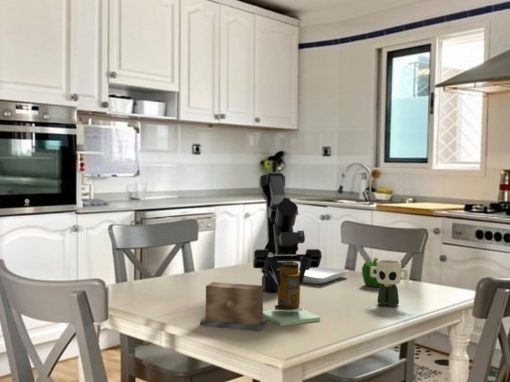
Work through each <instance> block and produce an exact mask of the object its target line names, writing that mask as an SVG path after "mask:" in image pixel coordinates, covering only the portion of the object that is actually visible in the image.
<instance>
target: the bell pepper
mask: <svg viewBox="0 0 510 382" xmlns="http://www.w3.org/2000/svg"><path fill="white" fill-rule="evenodd" d="M378 260H379V258H378V257H374V258H373V261H372V262H370V261H366V262H365V261H364V263H363V265H362V267H361V273H362V278H363V282H364V284H365V285H366V286H367V287H373V288H379V287H380V285H381V283H379V282H378V281H377V278H375V277H371V276H370V268H371V267H372V266H375V267H377V261H378ZM373 274H377V270H374V273H373Z"/></svg>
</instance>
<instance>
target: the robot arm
mask: <svg viewBox="0 0 510 382" xmlns="http://www.w3.org/2000/svg"><path fill="white" fill-rule="evenodd" d="M258 186H259V189H260V195H261V196H262V197H263V199H264V201H265V205H266V207H265V209H266V232H267V233H266V235H267V236H266V238H267V239H266V240H267V243H266V245H265V247H264V248H263V249H259V248H258V249H257V248H256V249H255V250H254V251H253V256H252V257H253V258H252V266H253V269H260V273H261V274H262V276H261V286H263V292H264V291H265V292H267V293H268V294H270V293H278V285H279V284H280V281H279V275H278V273H279V272H280V270H279V269H280V263H281V262H296V263H299V264H300V267H299V273H300V286H302V285H303V283H304V282H303V278H304V274H305V271H306V270H309V269H310V268H317V267H319V266H320V264H321V260H322V257H323V256H322V251H321V250H320V249H318V248H309V249H308V248H306V250H305V253H304V254H303V253H302V254H301V253H300V254H297V252H298V251H299V244H304V243H305V241H306V237H305V235H306V234H305V230H297V231H294V226H295V224H296V219H297V216H299V208H298V205H297V204H296V203H295V202H294V201H292V200H291V199H290V198H289V197H287V195H286V191H285V188H286V175H284V174H283V172H280V171H278V172H277V171H273V172H271V171H269V172H267V173H266V174H263V175H260V177H259V179H258Z"/></svg>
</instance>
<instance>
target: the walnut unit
mask: <svg viewBox="0 0 510 382" xmlns="http://www.w3.org/2000/svg"><path fill="white" fill-rule="evenodd" d="M263 311H264V290H263V286H262V285H257V284H244V283H243V284H242V283H230V282H217V281H212V282H210V283H208V284H206V285H205V317H204V318H202V319H201V320H200V321H199V326H203V327H204V326H205V327H216V328H223V329H224V328H225V329H236V330H245V331H247V330H248V331H255V332H260V331H261V330H262V329H263V328H264V327H265V326H266V325H267V324H268V323H269V320H268V319H266V318H265V317H263Z"/></svg>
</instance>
